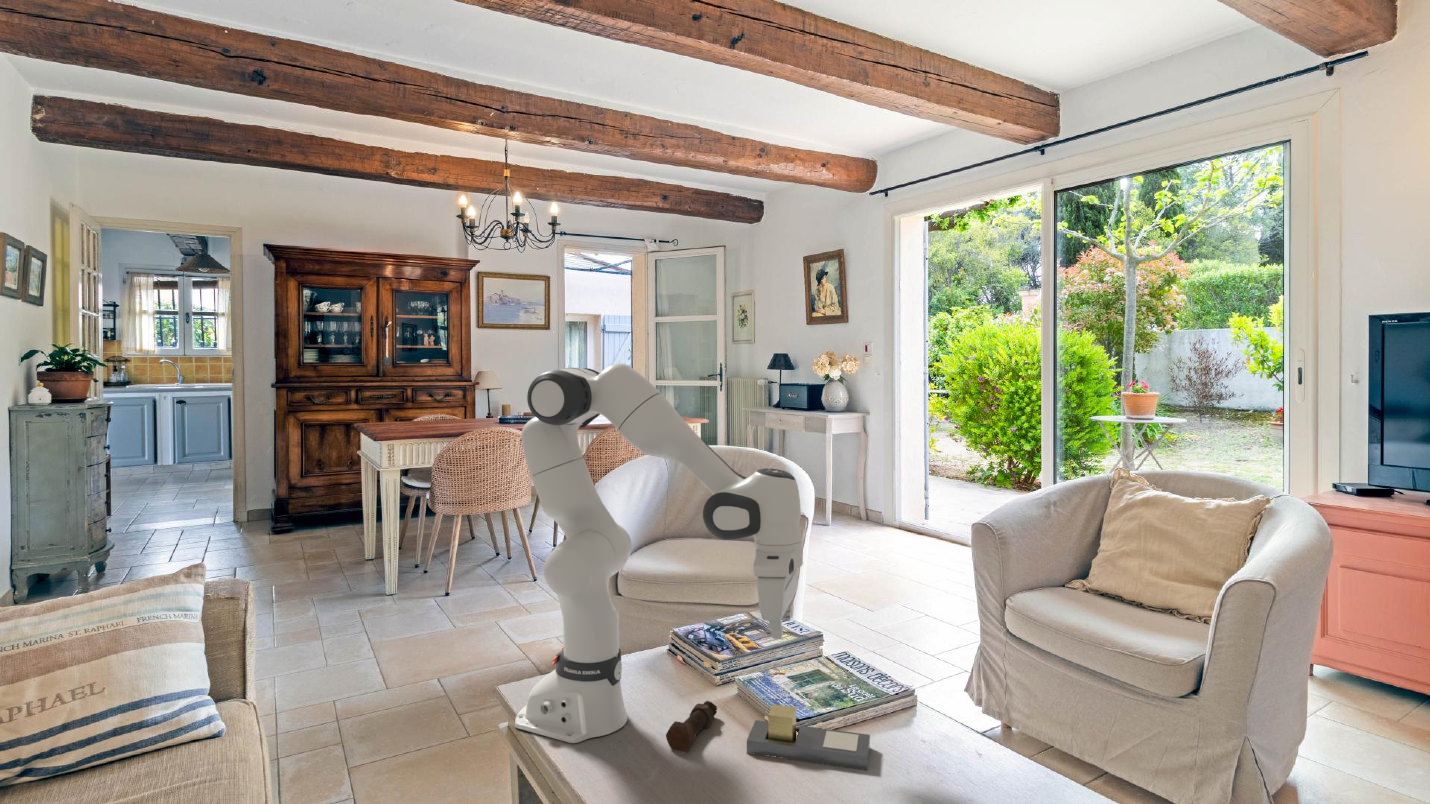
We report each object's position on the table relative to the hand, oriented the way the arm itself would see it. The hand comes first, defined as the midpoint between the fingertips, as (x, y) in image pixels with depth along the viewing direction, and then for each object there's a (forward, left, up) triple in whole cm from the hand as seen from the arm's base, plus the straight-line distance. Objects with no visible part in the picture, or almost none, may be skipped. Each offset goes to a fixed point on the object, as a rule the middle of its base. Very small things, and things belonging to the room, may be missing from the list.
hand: (782, 628), depth 139 cm
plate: (+5, 0, -23) cm, 23 cm away
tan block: (0, 0, -23) cm, 23 cm away
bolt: (-17, +1, -23) cm, 29 cm away
